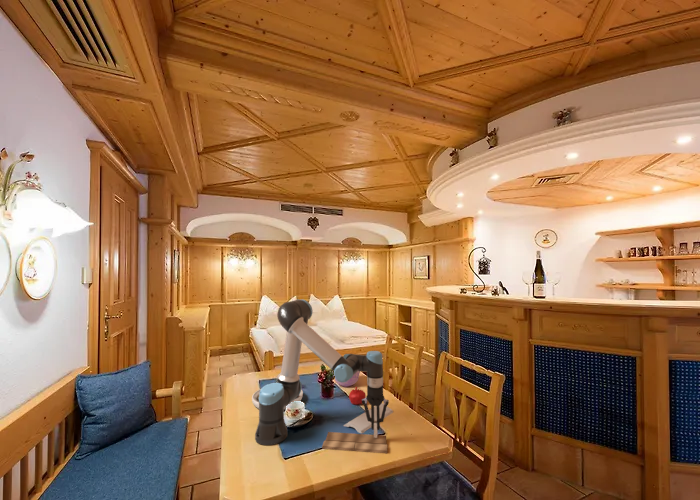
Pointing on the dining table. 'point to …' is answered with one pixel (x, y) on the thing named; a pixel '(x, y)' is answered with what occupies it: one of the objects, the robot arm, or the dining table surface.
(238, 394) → the dining table surface
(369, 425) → the crown molding
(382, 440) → the plank
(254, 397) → the bowl
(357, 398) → the pomegranate
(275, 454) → the dining table surface
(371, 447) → the laid row
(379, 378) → the robot arm
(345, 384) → the bowl of food
